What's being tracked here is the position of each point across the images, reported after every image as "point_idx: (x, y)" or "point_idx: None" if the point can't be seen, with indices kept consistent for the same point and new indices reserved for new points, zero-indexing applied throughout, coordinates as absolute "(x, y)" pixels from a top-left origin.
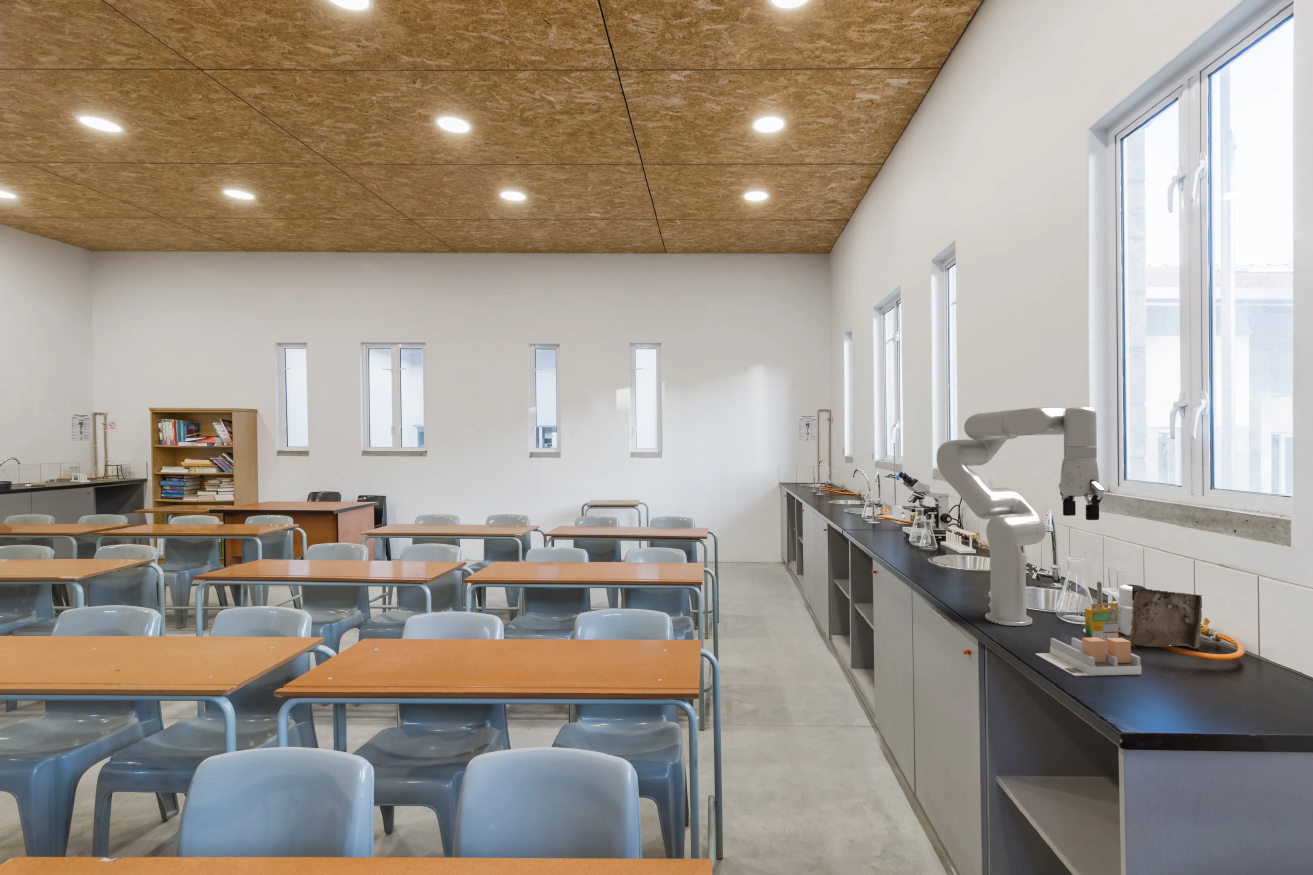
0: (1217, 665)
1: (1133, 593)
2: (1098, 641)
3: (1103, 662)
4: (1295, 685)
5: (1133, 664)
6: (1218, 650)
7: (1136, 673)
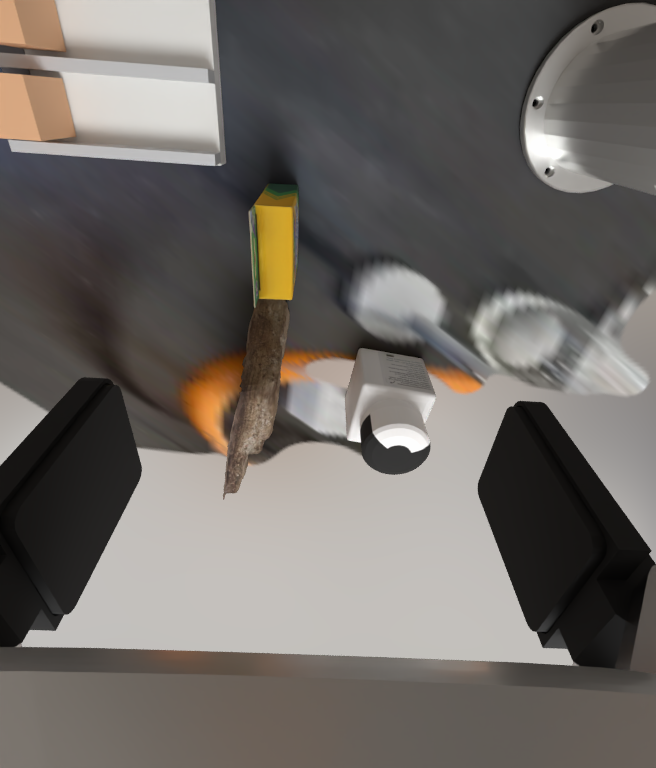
0: (144, 366)
1: (370, 429)
2: None
3: None
4: (42, 401)
5: None
6: None
7: None
